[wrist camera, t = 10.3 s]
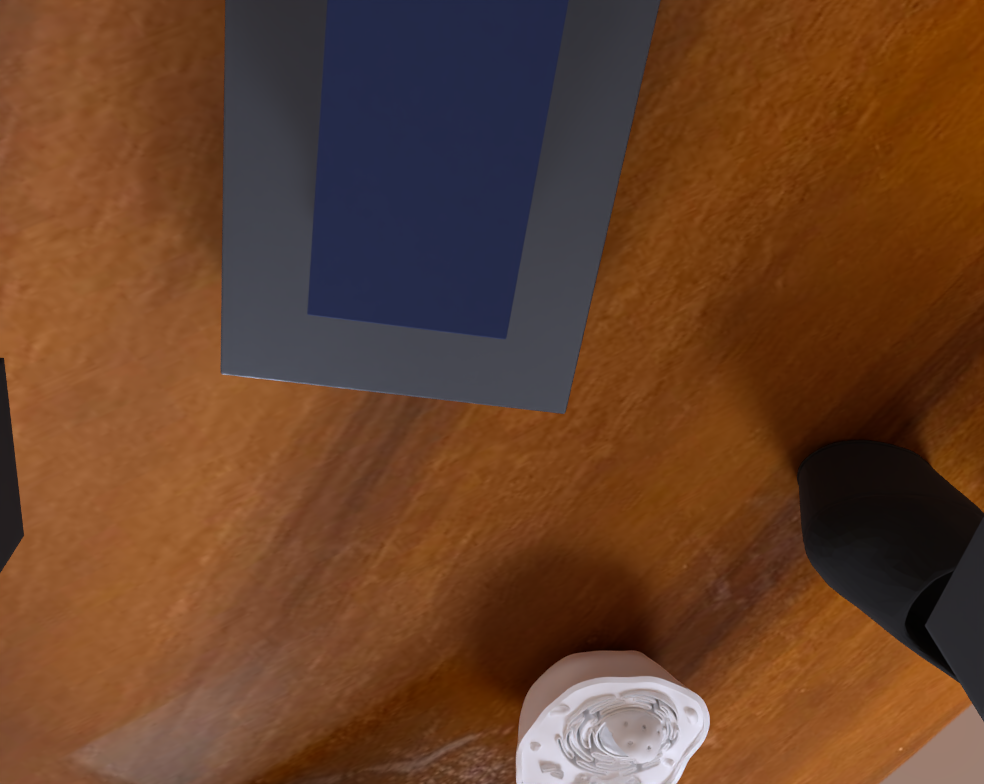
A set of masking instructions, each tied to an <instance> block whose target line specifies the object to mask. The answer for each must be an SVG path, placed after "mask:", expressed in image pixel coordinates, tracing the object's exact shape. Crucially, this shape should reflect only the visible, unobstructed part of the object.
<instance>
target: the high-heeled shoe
mask: <svg viewBox="0 0 984 784" xmlns="http://www.w3.org/2000/svg"><path fill="white" fill-rule="evenodd" d="M797 480H798V485H799V495H800V512H801V525H802V534H803V542H804V545H805V551H806V554H807V556H808V558H809V560H810V562H811V564H812V566H813V567H814V568H815V569H816V571H817V572H818V573H819V574H820V576H821V577H822V578H823V579H824V580H825V582H826V583H827V584H828V585H829V586H830V587H831V588H833V589H834V590H835V591H836V592H837V593H839V594H840V595H841V596H842V597H844V598H845V599H847V600H848V601H849V602H851V603H852V604H854V605H855V606H856V607H858V608H859V609H860V610H861V611H863V612H864V613H865V614H866V615H868V616H869V617H870V618H871V619H873V620H874V621H875V622H876V623H878V624H879V625H880V626H881V627H883V628H884V629H885V630H886V631H888V632H889V633H890V634H891V635H893V636H894V637H895V638H896V639H897V640H899V641H900V642H901V643H903V644H904V645H905V646H907V647H908V648H910V649H911V650H912V651H914V652H915V653H917V654H918V655H919V656H921V657H922V658H924V659H925V660H927V661H928V662H930V663H931V664H933V665H934V666H936V667H937V668H939V669H940V670H942V671H943V672H945V673H946V674H948V675H949V676H950V677H952V678H953V679H955V680H956V681H958V679H957V677H956V676H955V674H954V672H953V671H952V669H951V668H950V666H949V664H948V663H947V661H946V659H945V658H944V656H943V655H942V653H941V651H940V650H939V648H938V646H937V645H936V643H935V642H934V640H933V638H932V637H931V635H930V633H929V632H928V630H927V629H926V627H925V624H926V623H927V621H928V619H929V617H930V615H931V613H932V611H933V610H934V608H935V606H936V604H937V602H938V600H939V598H940V597H941V595H942V593H943V591H944V589H945V587H946V585H947V584H948V582H949V580H950V578H951V576H952V574H953V573H954V571H955V569H956V567H957V565H958V563H959V561H960V560H961V558H962V556H963V554H964V552H965V550H966V548H967V547H968V545H969V543H970V541H971V539H972V537H973V535H974V534H975V532H976V530H977V528H978V526H979V524H980V522H981V521H982V519H983V517H984V513H983V512H982V511H981V510H980V508H978V507H977V506H976V505H975V504H974V503H973V502H971V501H970V500H969V499H968V498H967V497H966V496H964V495H963V494H962V493H961V492H960V491H958V490H957V489H956V488H955V487H954V486H952V485H951V484H950V483H949V482H948V481H947V480H945V479H944V478H943V477H942V476H941V475H940V474H938V473H937V472H936V471H935V470H934V469H933V468H932V467H931V465H930V464H929V463H928V462H927V461H925V460H924V459H923V458H922V457H920V456H919V455H918V454H916V453H914V452H913V451H911V450H908V449H905V448H901V447H898V446H895V445H892V444H887V443H882V442H877V441H869V440H852V441H842V442H837V443H832V444H830V445H827V446H825V447H822V448H820V449H818V450H817V451H815V452H813V453H812V454H810V455H809V456H808V457H807V458H806V459H805V460H804V461H803V462H802V464H801V465H800V467H799V469H798V473H797ZM958 682H959V681H958ZM959 683H960V682H959Z"/></svg>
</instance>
